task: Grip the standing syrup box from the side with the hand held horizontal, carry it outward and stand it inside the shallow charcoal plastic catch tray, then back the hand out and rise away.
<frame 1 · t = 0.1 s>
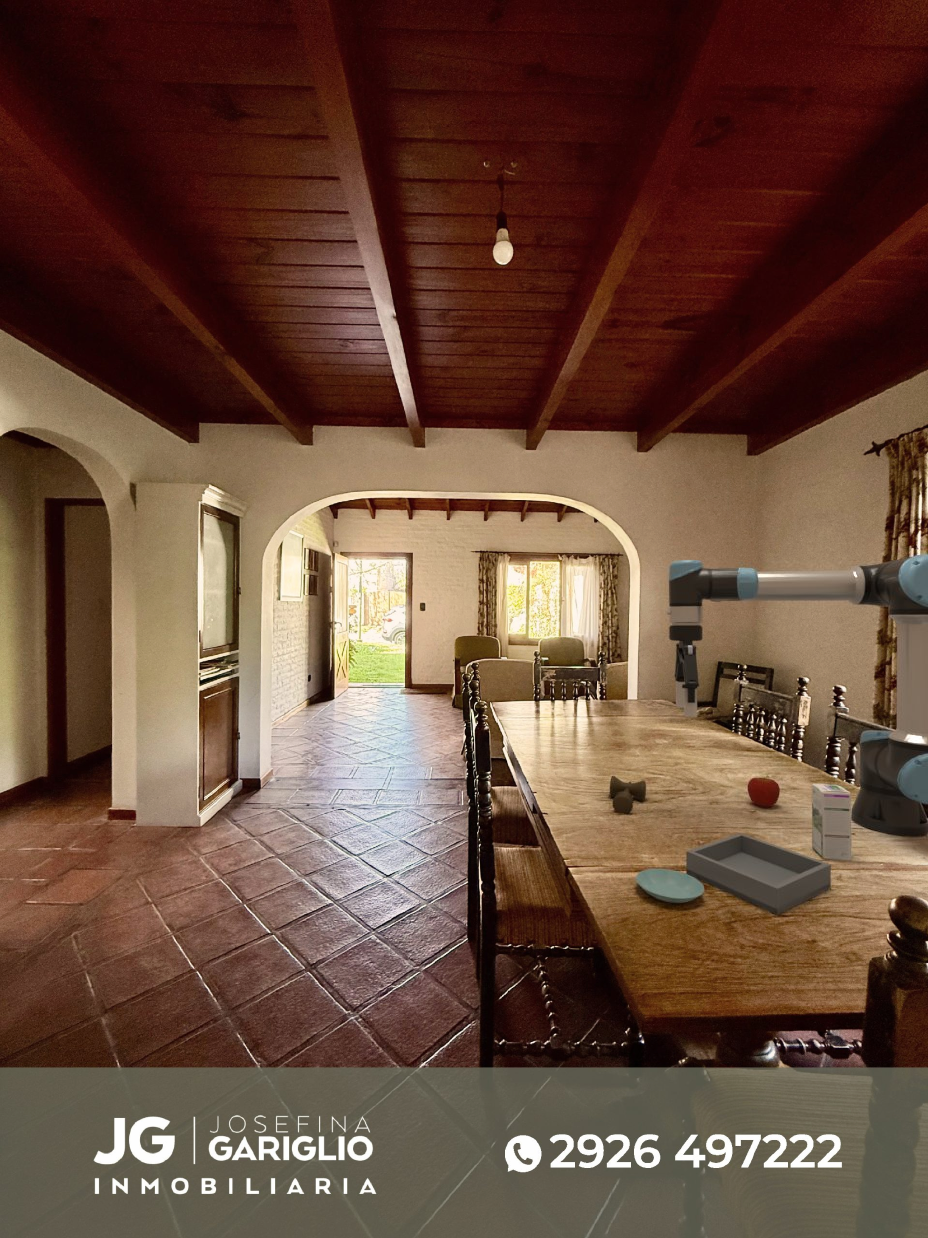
hand: (685, 712, 136), 28 cm above the table, tool pointing down, fingers open, 13 cm apart
kendama: (626, 804, 154), on the table
apple: (763, 806, 152), on the table
catch tray: (756, 881, 108), on the table
saucer: (669, 895, 103), on the table
syrup box: (831, 855, 120), on the table
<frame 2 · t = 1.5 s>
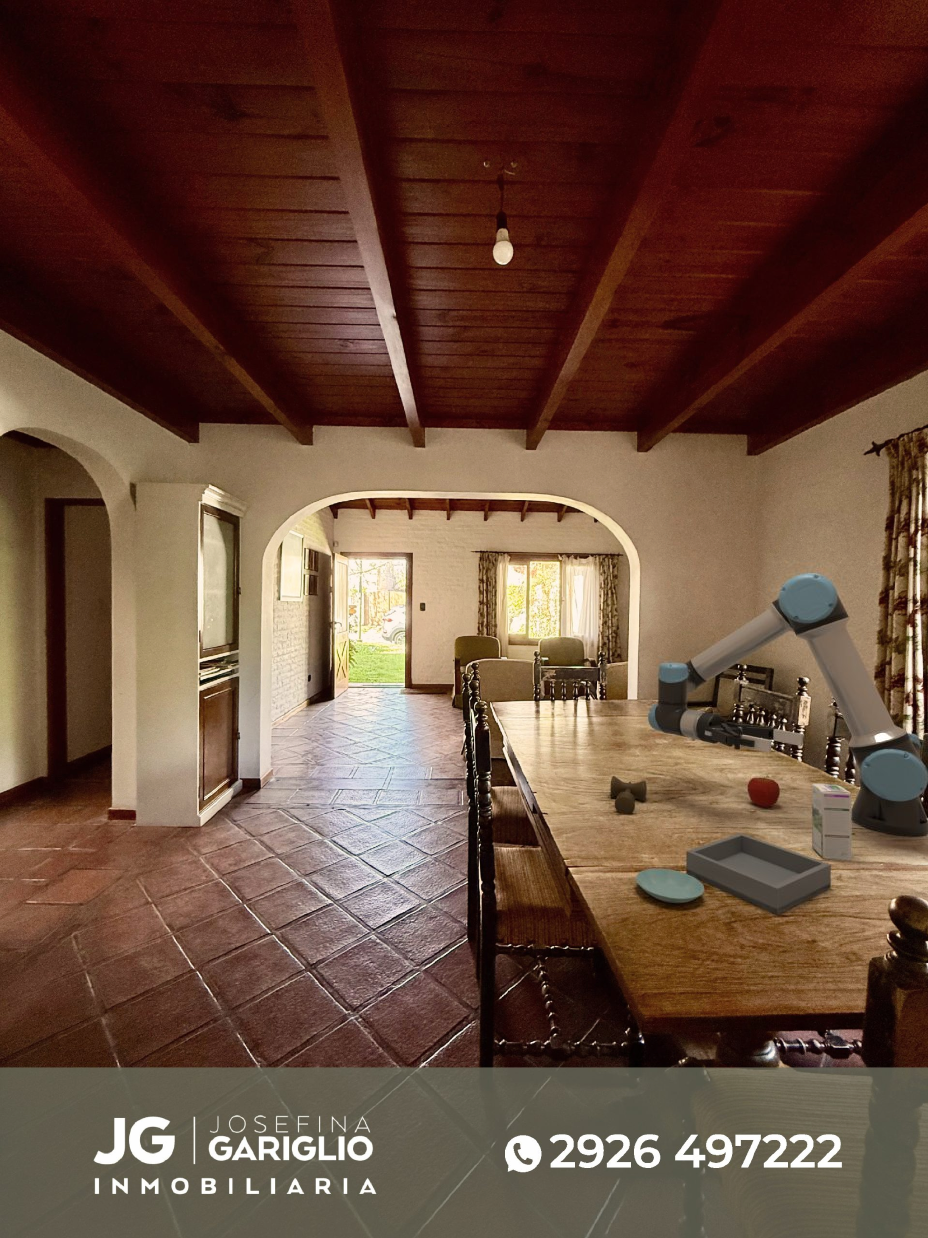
hand: (786, 743, 128), 22 cm above the table, tool horizontal, fingers open, 13 cm apart
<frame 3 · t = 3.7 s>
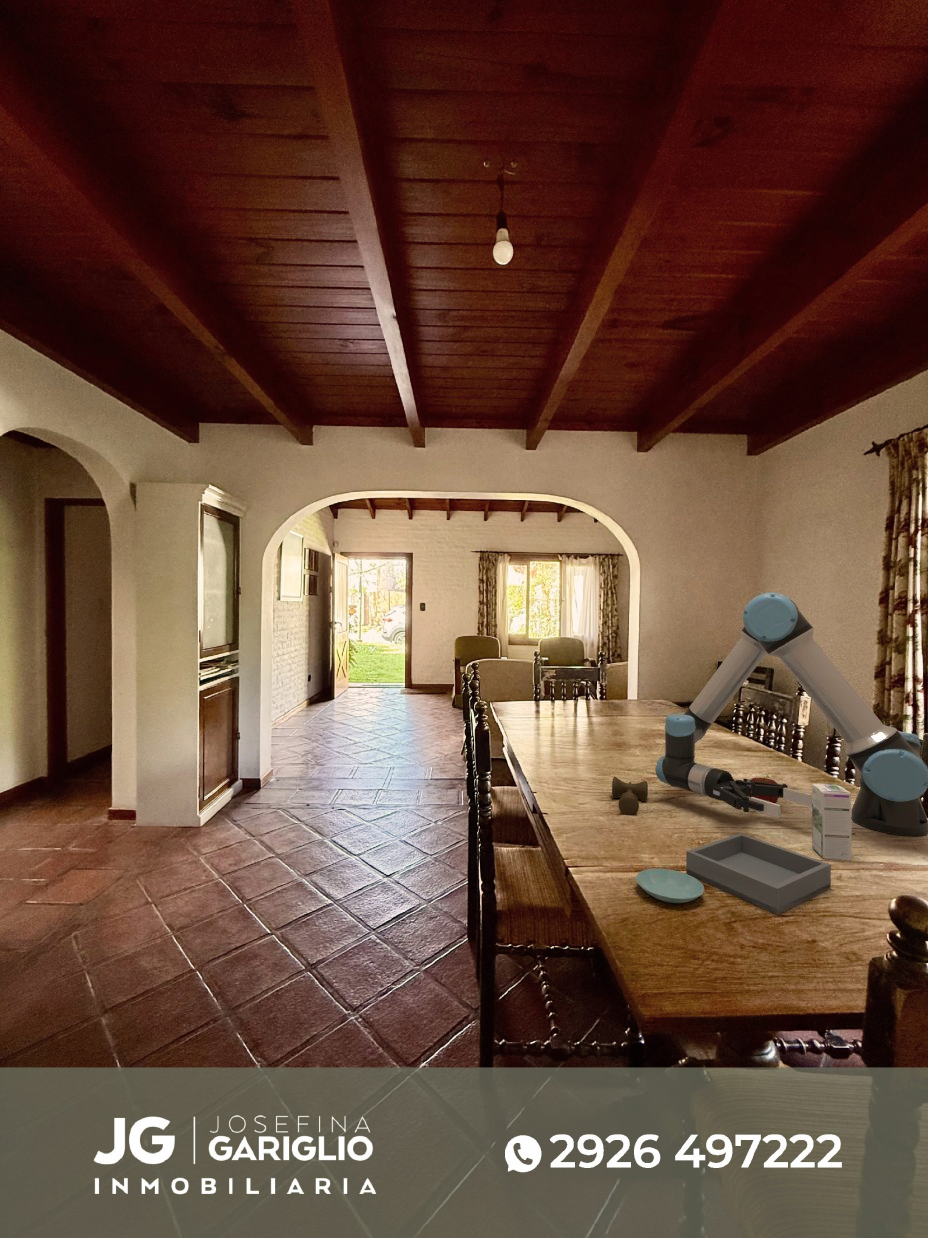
hand: (796, 806, 126), 8 cm above the table, tool horizontal, fingers open, 13 cm apart
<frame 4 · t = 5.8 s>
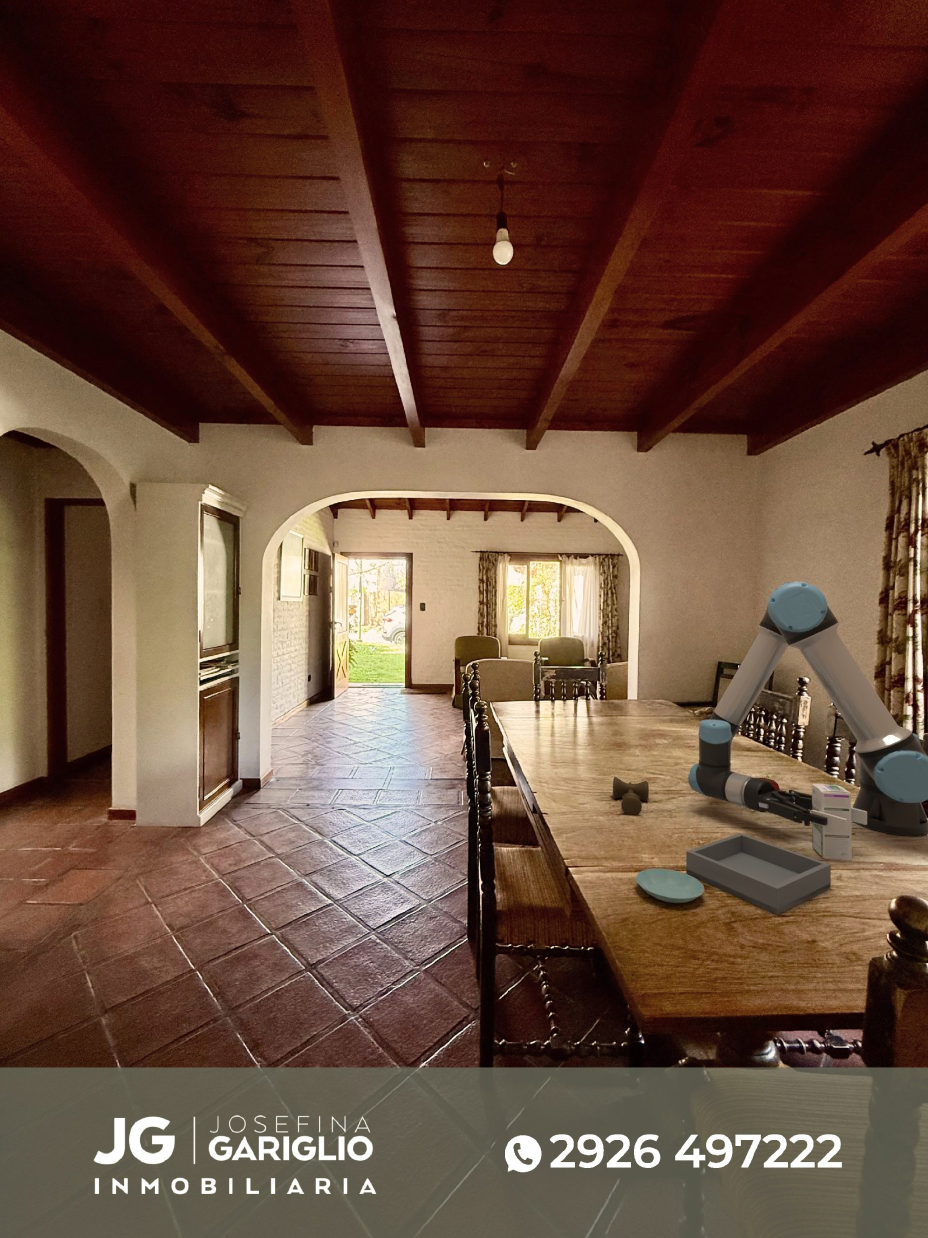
hand: (856, 822, 116), 8 cm above the table, tool horizontal, fingers closed on syrup box, 8 cm apart
syrup box: (831, 855, 120), on the table, touching gripper
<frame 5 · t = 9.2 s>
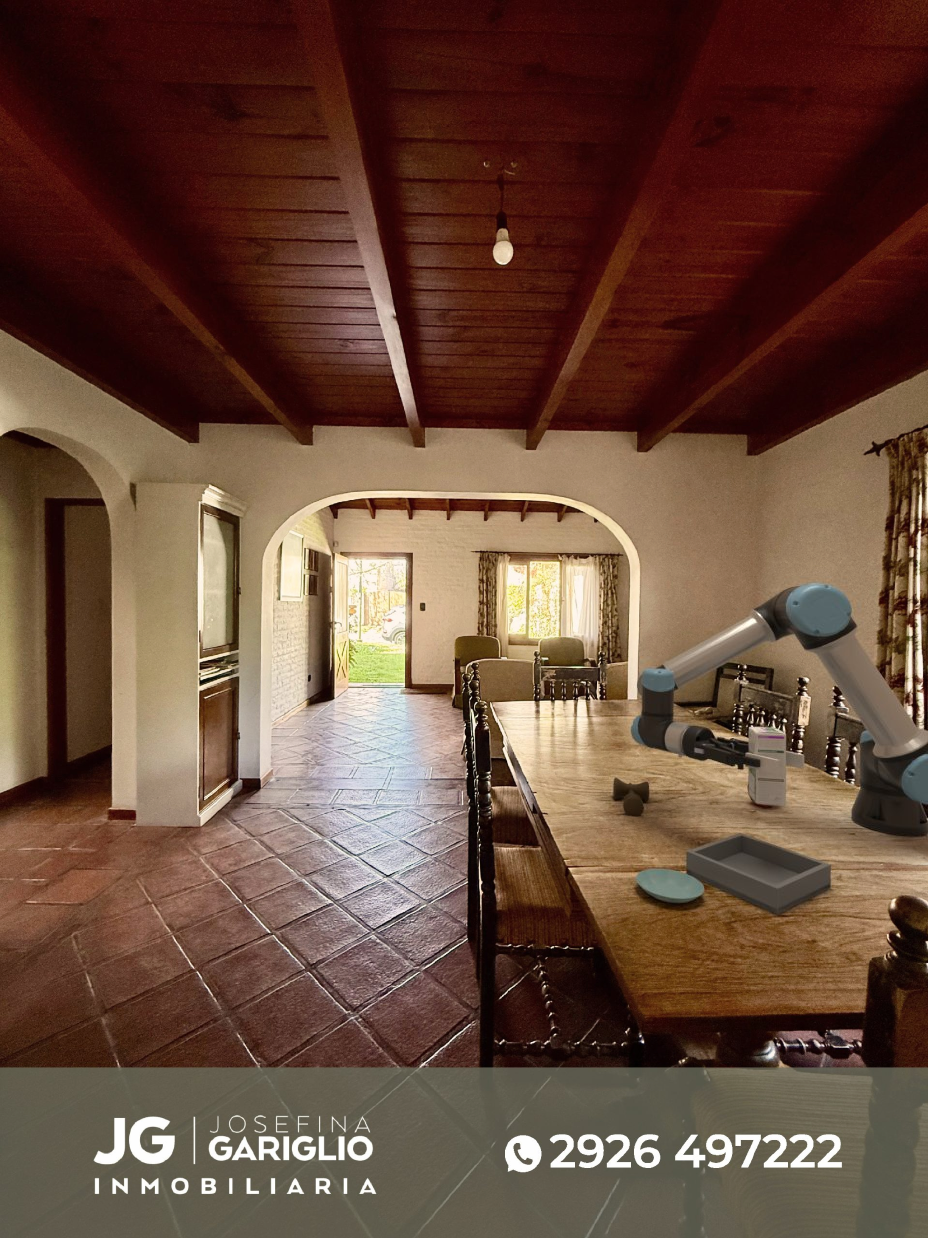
hand: (790, 764, 109), 22 cm above the table, tool horizontal, fingers closed on syrup box, 8 cm apart
syrup box: (766, 801, 114), point 13 cm above the table, touching gripper
when the fingers open (10 cm above the table, at t = 12.2 s): syrup box stays where it is, resting on catch tray.
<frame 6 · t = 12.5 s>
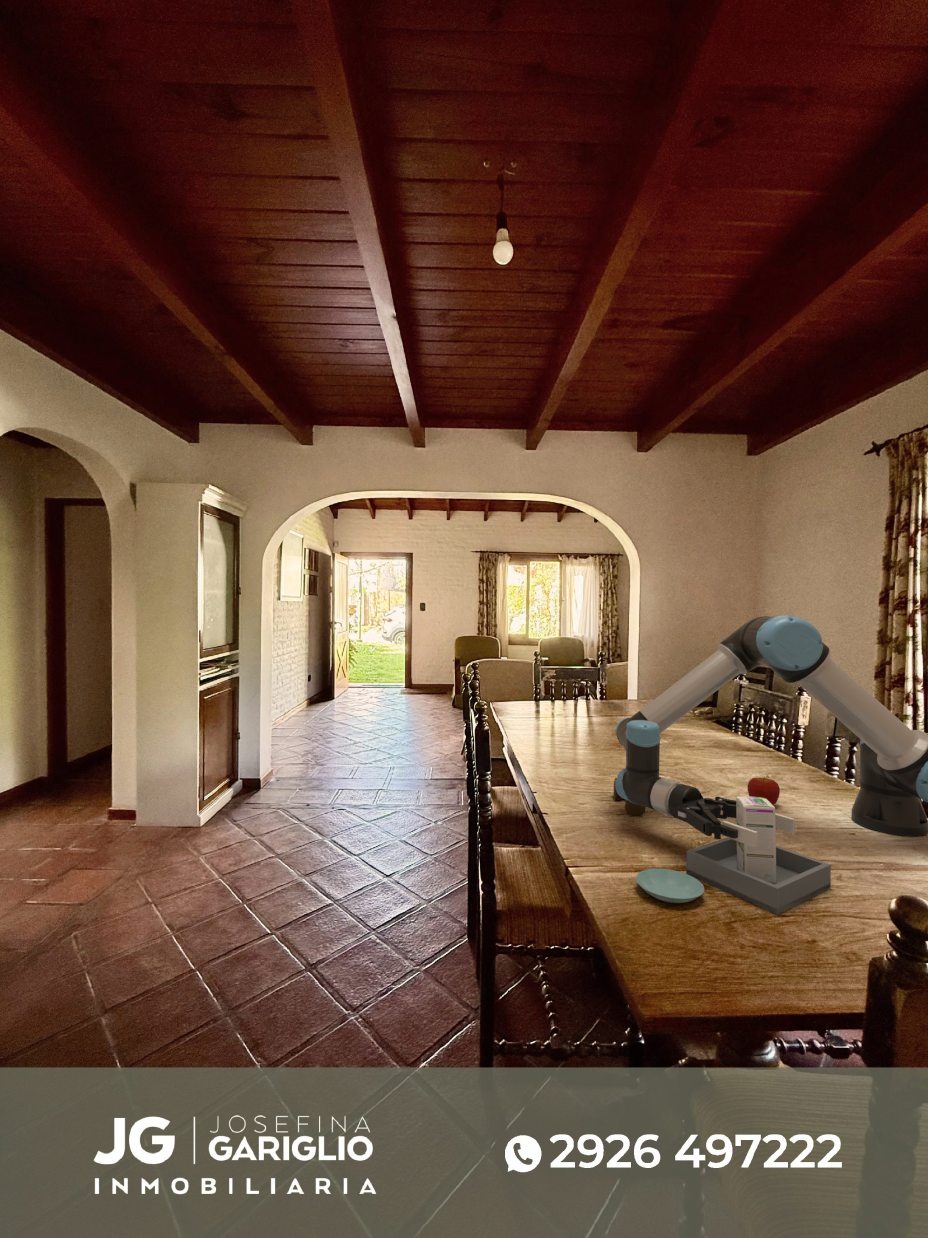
hand: (776, 833, 105), 10 cm above the table, tool horizontal, fingers open, 12 cm apart
syrup box: (755, 877, 108), point 1 cm above the table, touching catch tray
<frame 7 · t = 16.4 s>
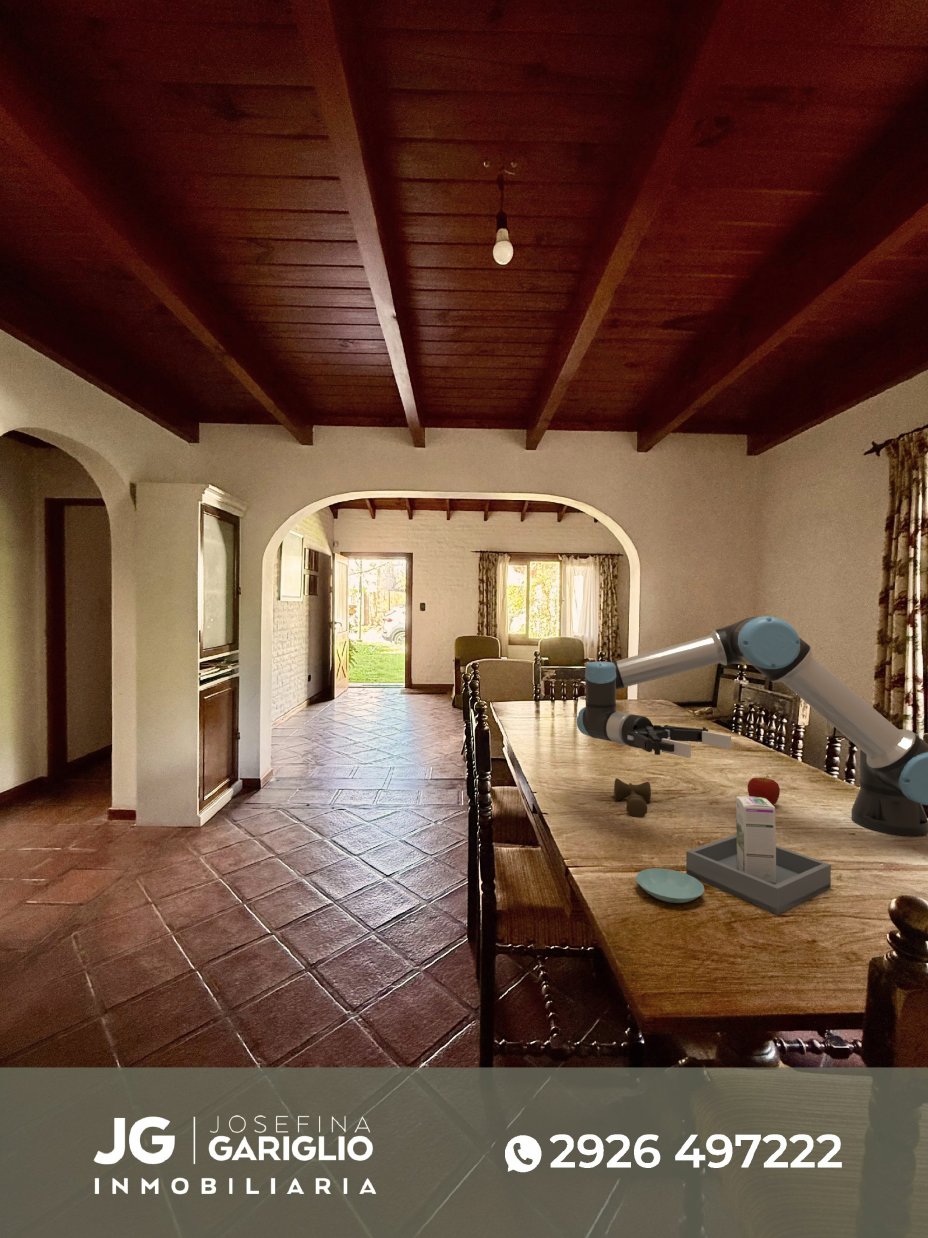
hand: (710, 746, 116), 24 cm above the table, tool horizontal, fingers open, 13 cm apart
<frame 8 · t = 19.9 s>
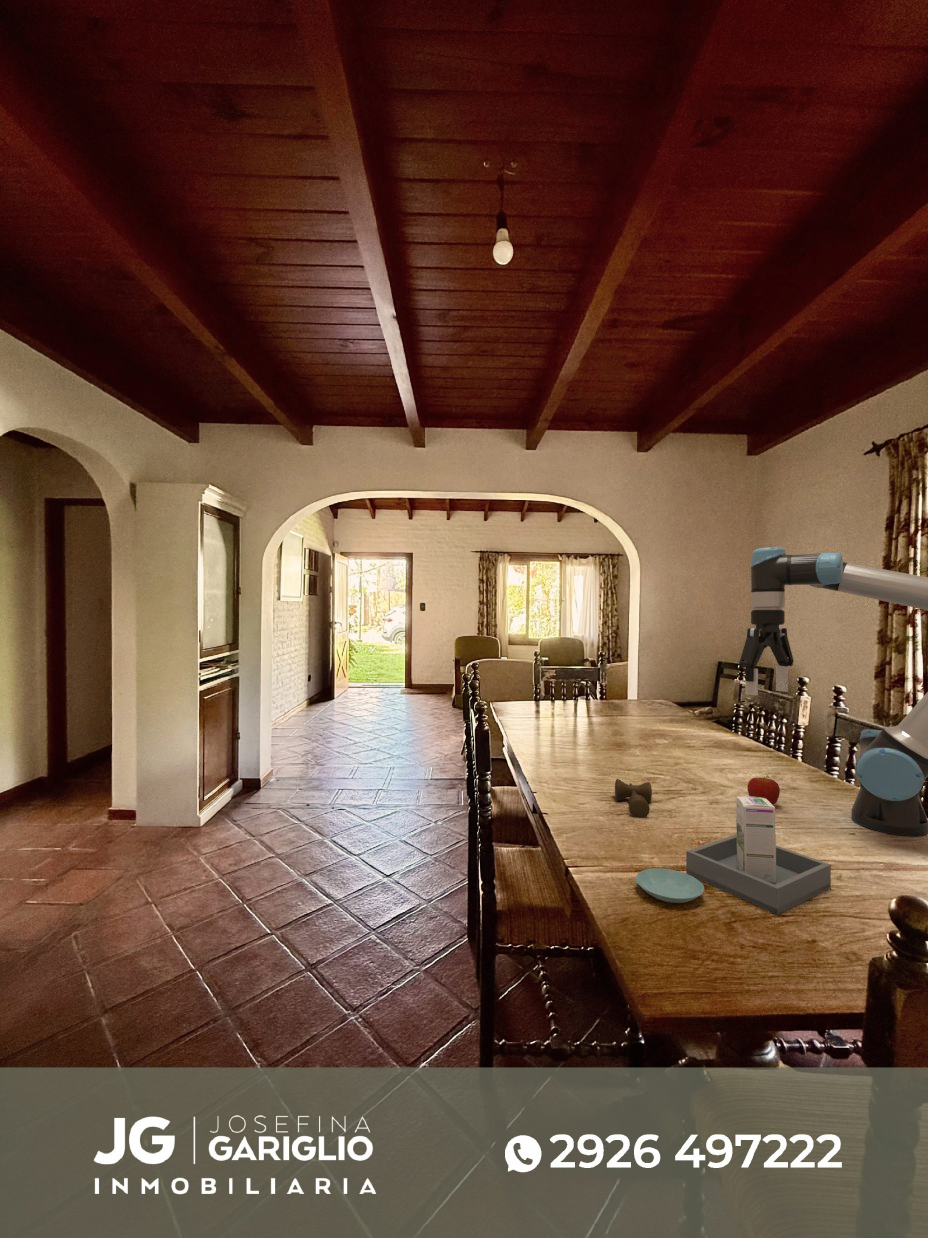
hand: (767, 693, 142), 32 cm above the table, tool pointing down, fingers open, 13 cm apart
at the end: syrup box inside the target area on the catch tray (0.2 cm from its centre), point 0.8 cm above the catch tray's base; syrup box tilted 0°; the gripper is holding nothing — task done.
